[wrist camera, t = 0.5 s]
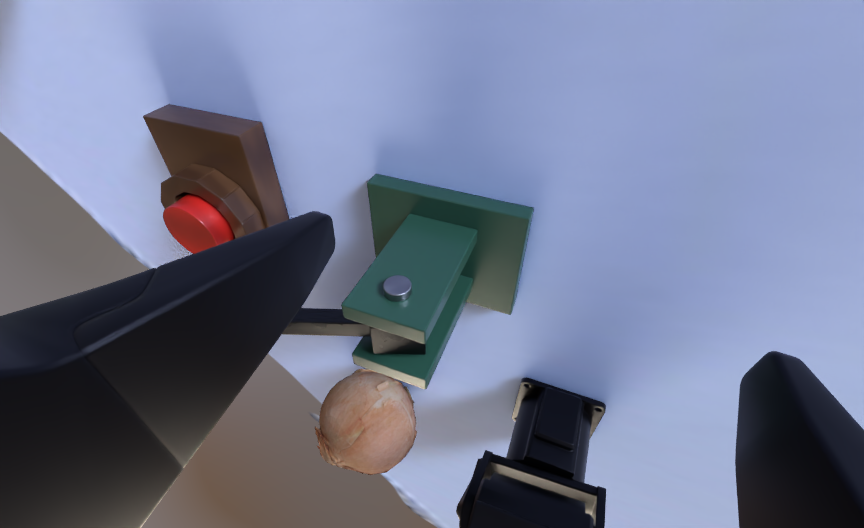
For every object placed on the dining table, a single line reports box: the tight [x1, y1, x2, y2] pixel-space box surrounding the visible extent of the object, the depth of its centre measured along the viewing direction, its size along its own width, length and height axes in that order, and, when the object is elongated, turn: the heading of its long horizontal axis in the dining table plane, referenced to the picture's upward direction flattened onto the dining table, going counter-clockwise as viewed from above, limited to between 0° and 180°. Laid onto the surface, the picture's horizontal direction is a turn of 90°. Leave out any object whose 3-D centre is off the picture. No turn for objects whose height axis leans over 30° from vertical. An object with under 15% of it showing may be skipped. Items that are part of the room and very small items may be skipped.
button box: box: [143, 104, 289, 239], centre depth 31 cm, size 13×8×4 cm, turn 0°
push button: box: [163, 194, 235, 254], centre depth 29 cm, size 4×4×2 cm
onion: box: [315, 369, 417, 475], centre depth 40 cm, size 10×9×10 cm
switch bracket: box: [341, 174, 534, 389], centre depth 24 cm, size 10×8×9 cm
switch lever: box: [282, 308, 426, 355], centre depth 23 cm, size 12×6×2 cm, turn 90°
